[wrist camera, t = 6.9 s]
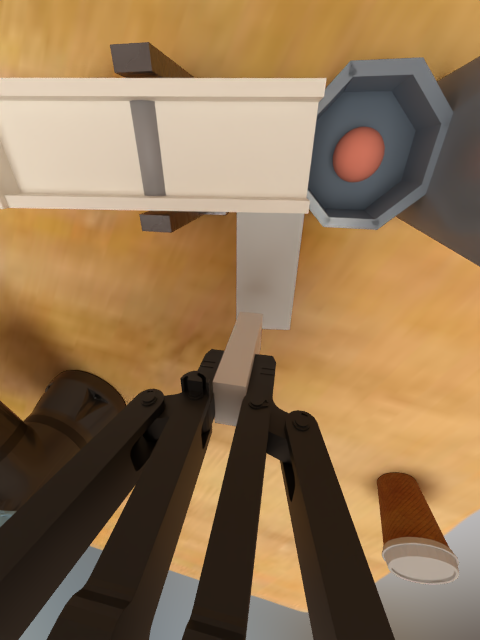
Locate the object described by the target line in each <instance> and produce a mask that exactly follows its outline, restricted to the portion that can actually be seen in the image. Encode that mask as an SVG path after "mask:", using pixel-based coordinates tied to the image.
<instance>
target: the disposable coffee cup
mask: <svg viewBox="0 0 480 640" xmlns="http://www.w3.org/2000/svg"><path fill="white" fill-rule="evenodd" d="M377 486H378V495H379V505H380V515H381V524H382V534H383V543H384V546H383V551H382V557H383V559H384V560H385V561H386V563H387V566H388V568H389V570H390V571H391V572H392V573H393V574H394V575H396V576H398V577H400V578H402V579H405V580H408V581H412V582H416V583H422V584H445V583H449V582H452V581H454V580H455V579H457V578H458V577H459V570H458V565H459V561H458V558H457V557H456V556H455V555H454V553H453V552H452V550H451V549H450V548H449V546H448V544H447V542H446V540H445V538H444V536H443V534H442V532H441V530H440V528H439V526H438V524H437V522H436V520H435V518H434V516H433V514H432V512H431V510H430V508H429V506H428V504H427V502H426V500H425V498H424V496H423V494H422V492H421V490H420V488H419V486H418V484H417V482H416V480H415V479H414V478H413V477H411V476H409V475H407V474H403V473H388V474H385V475H382V476H381V477H379V478H378V480H377Z"/></svg>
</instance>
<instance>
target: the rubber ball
mask: <svg viewBox="0 0 480 640" xmlns="http://www.w3.org/2000/svg"><path fill="white" fill-rule="evenodd" d="M384 152H385V145H384V141H383V138H382V136H381V135H380V133H379V132H378V131H377V130H375V129H373V128H371V127H358V128H355V129H352V130H350V131H349V132H347V133H346V134H345V135H344V136H343V137H342V138H341V139H340V140H339V142H338V143H337V145H336V147H335V150H334V153H333V167H334V170H335V172H336V174H337V175H338V176H339V177H340V178H341V179H342V180H344V181H347V182H360V181H363V180H365V179H367V178H369V177H370V176H371V175H372V174H373V173H375V171H376V170H377V169H378V168H379V166H380V164H381V162H382V160H383V157H384Z"/></svg>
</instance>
